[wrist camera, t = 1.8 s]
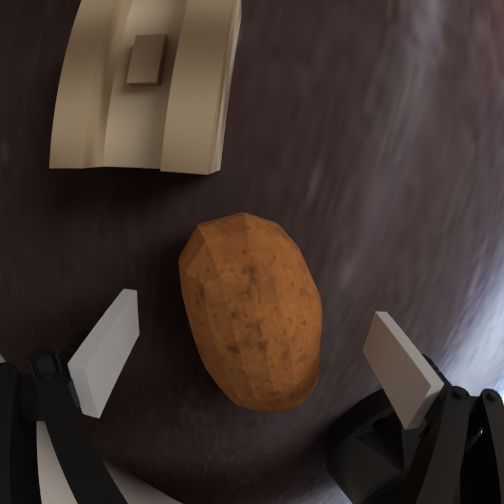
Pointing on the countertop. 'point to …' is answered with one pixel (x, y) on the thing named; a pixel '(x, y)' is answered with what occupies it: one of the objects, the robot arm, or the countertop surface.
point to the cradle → (146, 85)
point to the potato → (252, 311)
